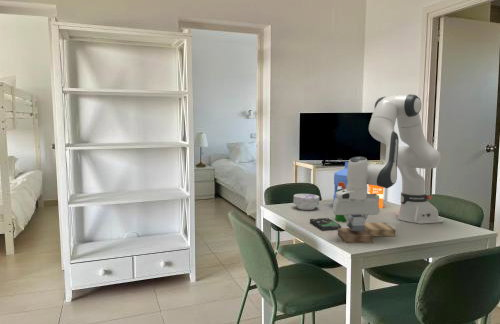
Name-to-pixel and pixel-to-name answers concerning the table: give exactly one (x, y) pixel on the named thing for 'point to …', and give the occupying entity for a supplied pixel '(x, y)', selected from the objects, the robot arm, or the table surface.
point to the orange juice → (378, 191)
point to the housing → (356, 222)
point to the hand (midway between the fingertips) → (355, 224)
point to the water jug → (340, 178)
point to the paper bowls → (306, 201)
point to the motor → (340, 217)
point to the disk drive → (325, 224)
